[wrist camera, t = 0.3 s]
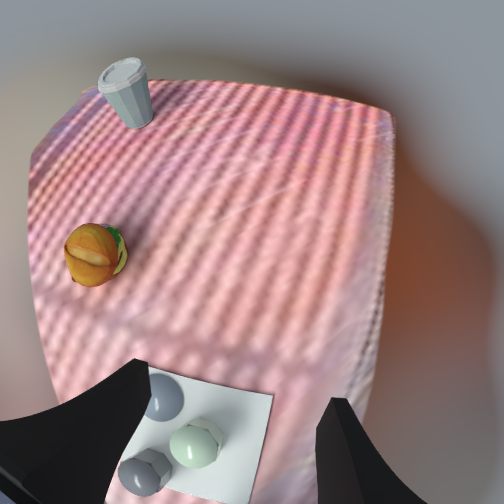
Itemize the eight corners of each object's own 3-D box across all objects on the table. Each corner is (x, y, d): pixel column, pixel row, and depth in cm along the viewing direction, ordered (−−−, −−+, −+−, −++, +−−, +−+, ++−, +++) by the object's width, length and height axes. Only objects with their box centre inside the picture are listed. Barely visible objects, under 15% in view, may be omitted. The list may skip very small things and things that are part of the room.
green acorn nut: (219, 459, 31) (212, 473, 26) (178, 449, 32) (166, 460, 26) (226, 424, 33) (221, 432, 28) (185, 414, 34) (173, 420, 28)
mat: (247, 505, 28) (247, 507, 28) (121, 469, 30) (120, 470, 30) (272, 395, 35) (272, 395, 35) (140, 363, 37) (139, 363, 37)
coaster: (178, 427, 33) (177, 428, 33) (132, 412, 34) (131, 412, 33) (187, 381, 36) (187, 381, 36) (141, 367, 36) (140, 367, 36)
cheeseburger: (128, 220, 46) (105, 200, 37) (141, 280, 45) (119, 273, 35) (79, 237, 45) (50, 223, 35) (90, 296, 44) (60, 292, 34)
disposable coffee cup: (159, 130, 55) (140, 74, 42) (113, 141, 55) (88, 90, 41) (162, 102, 60) (148, 51, 46) (121, 112, 59) (101, 64, 45)
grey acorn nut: (169, 487, 29) (156, 502, 24) (133, 474, 30) (115, 486, 24) (175, 456, 31) (161, 468, 26) (137, 444, 32) (120, 452, 26)
